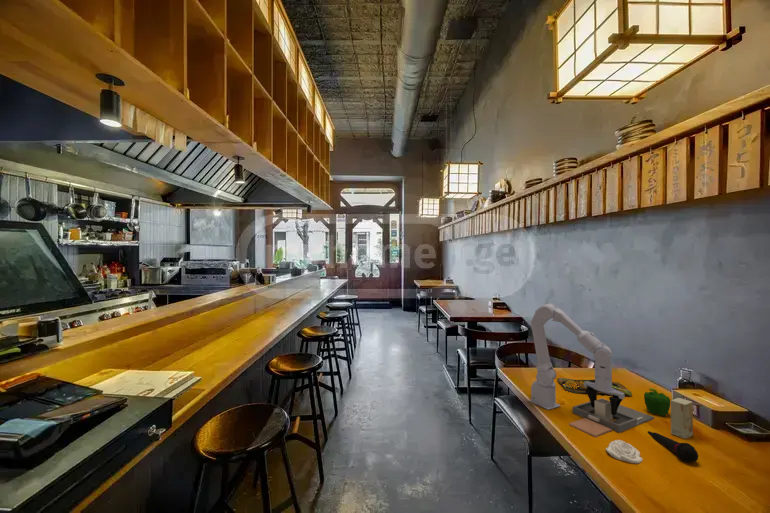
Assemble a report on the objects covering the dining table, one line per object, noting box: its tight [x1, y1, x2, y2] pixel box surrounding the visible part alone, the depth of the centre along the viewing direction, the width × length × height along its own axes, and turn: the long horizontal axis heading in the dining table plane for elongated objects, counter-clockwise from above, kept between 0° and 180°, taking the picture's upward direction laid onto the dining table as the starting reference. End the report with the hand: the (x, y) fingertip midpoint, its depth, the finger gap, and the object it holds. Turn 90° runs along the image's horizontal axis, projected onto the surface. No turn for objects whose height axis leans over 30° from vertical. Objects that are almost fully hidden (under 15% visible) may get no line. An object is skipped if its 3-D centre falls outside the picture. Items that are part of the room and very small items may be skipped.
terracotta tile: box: [568, 417, 613, 438], centre depth 126 cm, size 10×10×1 cm
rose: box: [605, 439, 644, 464], centre depth 108 cm, size 10×4×10 cm
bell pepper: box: [643, 387, 671, 417], centre depth 138 cm, size 8×8×10 cm
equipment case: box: [571, 401, 655, 434], centre depth 135 cm, size 18×25×2 cm
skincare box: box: [670, 397, 694, 440], centre depth 121 cm, size 6×4×12 cm
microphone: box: [647, 430, 699, 463], centre depth 112 cm, size 6×6×20 cm
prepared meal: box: [556, 377, 633, 397], centre depth 165 cm, size 28×4×18 cm
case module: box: [594, 398, 614, 421], centre depth 133 cm, size 4×5×7 cm
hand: (603, 410), depth 133 cm, fingers open, 7 cm apart
